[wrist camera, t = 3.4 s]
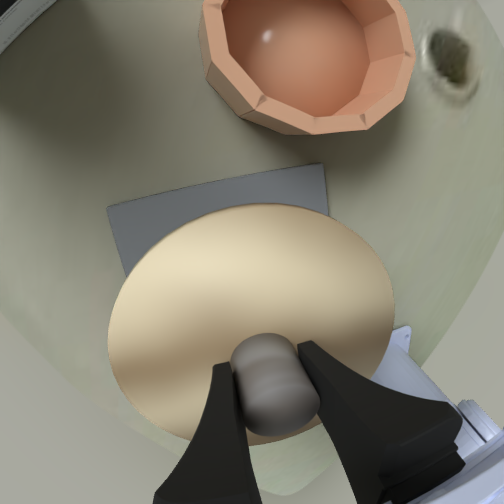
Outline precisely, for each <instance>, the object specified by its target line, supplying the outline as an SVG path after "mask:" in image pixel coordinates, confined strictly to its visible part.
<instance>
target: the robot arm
mask: <svg viewBox="0 0 504 504" xmlns="http://www.w3.org/2000/svg"><path fill="white" fill-rule="evenodd" d="M411 331H412V330H411V327H410V326H408V325H407V326H404V327H401V328H399V329H396V330H394V331H392V334H391V338H390V341H389V345H388V348H387V350H386V352H385V355H384V357H383V359H382V361H381V363H380V365H379V366H378V368H377V370H376V372H375V373H374V375H373V376H372V377H371V379H370V380H369V379H367V378H366V377H364V376H362V375H360V374H358V373H357V372H355V371H353V370H352V369H350V368H349V367H347V366H346V365H344V364H343V363H341V362H340V361H338V360H337V359H335V358H334V357H333V356H331V355H330V354H329V353H327V352H326V351H325V350H324V349H322V348H321V347H320V346H319V345H317V344H316V343H315V342H314V341H312V340H309V341H306V342H302V343H299V344H297V349H298V357H299V359H300V361H301V363H302V365H303V367H304V369H305V370H306V372H307V374H308V376H309V378H310V380H311V382H312V384H313V386H314V388H315V390H316V392H317V394H318V396H319V398H320V407H319V410H318V412H317V415H318V416H319V418H320V420H321V422H322V423H323V425H324V427H325V429H326V430H327V432H328V434H329V436H330V438H331V440H332V442H333V444H334V446H335V448H336V451H337V453H338V455H339V458H340V460H341V462H342V465H343V467H344V470H345V472H346V475H347V477H348V480H349V482H350V485H351V487H352V490H353V493H354V496H355V498H356V501H357V504H504V428H503V430H501V429H500V428H499V427H498V426H497V425H496V424H495V422H494V421H493V420H492V419H491V418H490V417H489V416H488V415H487V414H486V413H485V412H484V411H483V410H482V409H481V408H480V407H479V405H478V404H477V403H476V402H475V401H474V400H467V401H465V400H462V401H461V402H460V403H459V404H458V407H457V406H456V405H455V404H453V403H452V402H451V401H450V400H449V399H448V398H447V397H446V395H445V394H444V393H443V392H442V391H441V390H440V389H439V388H438V387H437V385H436V384H435V383H434V382H433V381H432V380H431V379H430V378H429V377H428V376H427V375H426V374H425V373H424V371H423V370H422V369H421V368H420V367H419V366H418V365H417V364H416V363H415V362H414V361H413V359H412V358H411V357H410V356H409V355H408V351H409V344H410V338H411ZM153 504H262V501H261V497H260V494H259V490H258V487H257V483H256V479H255V476H254V472H253V468H252V464H251V459H250V453H249V446H248V440H247V433H246V426H245V424H244V420H243V416H242V412H241V408H240V404H239V400H238V395H237V390H236V386H235V381H234V377H233V373H232V369H231V366H230V362H229V361H228V362H224V363H219V364H215V365H214V366H213V367H212V379H211V384H210V389H209V393H208V397H207V401H206V404H205V408H204V410H203V413H202V416H201V419H200V422H199V424H198V427H197V429H196V431H195V434H194V436H193V438H192V440H191V442H190V444H189V446H188V448H187V449H186V451H185V453H184V455H183V456H182V458H181V459H180V461H179V462H178V464H177V465H176V467H175V468H174V470H173V471H172V473H171V474H170V475H169V477H168V478H167V479H166V480H165V481H164V483H163V484H162V485H161V486H160V487H159V488H158V489H157V491H156V492H155V494H154V499H153Z"/></svg>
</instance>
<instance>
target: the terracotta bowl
mask: <svg viewBox="0 0 504 504" xmlns="http://www.w3.org/2000/svg"><path fill="white" fill-rule="evenodd" d="M198 36H199V42H200V48H201V54H202V60H203V66H204V72H205V78H206V80H207V81H208V82H209V83H210V85H211V86H212V87H213V88H214V89H215V90H216V91H217V92H218V94H219V95H220V96H221V97H222V98H223V99H224V100H225V102H226V103H227V104H228V105H229V106H230V107H231V109H232V110H233V111H234V112H235V113H236V114H237V116H239V117H241V118H243V119H246V120H249V121H251V122H254V123H257V124H259V125H262V126H264V127H267V128H269V129H272V130H274V131H277V132H279V133H282V134H284V135H315V134H324V133H334V132H344V131H356V130H367V129H369V128H370V127H371V126H372V125H374V124H375V123H376V122H377V121H379V120H380V119H381V118H382V117H384V116H385V115H386V114H387V113H389V112H390V111H391V110H392V109H393V108H395V107H396V106H397V105H398V104H400V103H401V102H402V101H403V100H404V97H405V94H406V90H407V87H408V84H409V81H410V77H411V74H412V70H413V67H414V64H415V60H416V58H415V57H416V54H415V49H414V45H413V40H412V35H411V31H410V27H409V23H408V19H407V15H406V12H405V10H404V8H403V7H402V6H401V4H400V3H399V1H398V0H205V1H204V3H203V5H202V11H201V18H200V25H199V33H198Z"/></svg>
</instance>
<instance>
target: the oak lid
mask: <svg viewBox="0 0 504 504" xmlns="http://www.w3.org/2000/svg"><path fill="white" fill-rule="evenodd" d="M394 308H395V303H394V296H393V289H392V285H391V282H390V279H389V275H388V273H387V271H386V269H385V267H384V265H383V263H382V261H381V259H380V258H379V257H378V255H377V254H376V253H375V251H374V250H373V248H372V247H371V246H370V245H369V244H368V243H367V242H366V241H365V240H364V239H363V238H362V237H360V236H359V235H358V234H357V233H355V232H354V231H352V230H351V229H349V228H348V227H346V226H345V225H343V224H342V223H340V222H338V221H337V220H335V219H333V218H331V217H329V216H327V215H325V214H322V213H320V212H318V211H315V210H311V209H308V208H304V207H301V206H297V205H290V204H282V203H250V204H243V205H236V206H230V207H227V208H223V209H220V210H216V211H213V212H209V213H207V214H204V215H202V216H200V217H197V218H195V219H193V220H191V221H188V222H186V223H185V224H183V225H181V226H180V227H178V228H176V229H175V230H173V231H172V232H170V233H168V234H167V235H165V236H164V237H163V238H162V239H161V240H159V241H158V242H157V243H156V244H155V245H153V246H152V247H151V248H150V249H149V250H148V251H147V252H146V253H145V254H144V255H143V257H142V258H141V259H140V260H139V261H138V262H137V263H136V264H135V266H134V267H133V269H132V270H131V272H130V274H129V275H128V277H127V278H126V280H125V281H124V283H123V286H122V288H121V290H120V292H119V295H118V297H117V299H116V302H115V305H114V308H113V311H112V315H111V319H110V324H109V331H108V351H109V360H110V363H111V367H112V371H113V374H114V376H115V379H116V381H117V383H118V385H119V387H120V389H121V390H122V392H123V393H124V395H125V396H126V398H127V399H128V401H129V402H130V403H131V404H132V405H133V406H134V407H135V408H136V410H137V411H138V412H139V413H141V414H142V415H143V416H144V417H145V418H147V419H148V420H149V421H150V422H152V423H153V424H155V425H157V426H158V427H160V428H161V429H163V430H165V431H167V432H169V433H171V434H173V435H175V436H178V437H181V438H184V439H187V440H190V441H191V440H192V438H193V436H194V434H195V431H196V429H197V427H198V424H199V422H200V419H201V416H202V413H203V410H204V408H205V404H206V401H207V397H208V393H209V389H210V384H211V379H212V367H213V366H214V365H215V364H219V363H224V362H228V361H229V362H230V366H231V369H232V373H233V377H234V381H235V386H236V390H237V395H238V400H239V404H240V408H241V412H242V416H243V420H244V424H245V426H246V433H247V440H248V446H253V445H261V444H266V443H271V442H275V441H279V440H283V439H286V438H289V437H292V436H295V435H297V434H300V433H302V432H304V431H307V430H309V429H311V428H313V427H315V426H316V425H318V424H320V423H322V422H321V420H320V418H319V416H318V415H317V412H318V410H319V407H320V398H319V396H318V394H317V392H316V390H315V388H314V386H313V384H312V382H311V380H310V378H309V376H308V374H307V372H306V370H305V369H304V367H303V365H302V363H301V361H300V359H299V357H298V349H297V344H299V343H302V342H306V341H309V340H312V341H314V342H315V343H316V344H317V345H319V346H320V347H321V348H322V349H324V350H325V351H326V352H327V353H329V354H330V355H331V356H333V357H334V358H335V359H337V360H338V361H340V362H341V363H343V364H344V365H346V366H347V367H349V368H350V369H352V370H353V371H355V372H357V373H358V374H360V375H362V376H364V377H366V378H367V379H369V380H370V379H371V377H372V376H373V375H374V373H375V372H376V370H377V368H378V366H379V365H380V363H381V361H382V359H383V357H384V355H385V352H386V350H387V348H388V345H389V341H390V338H391V334H392V330H393V324H394Z"/></svg>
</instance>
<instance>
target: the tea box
mask: <svg viewBox="0 0 504 504" xmlns="http://www.w3.org/2000/svg"><path fill="white" fill-rule="evenodd" d="M56 1H57V0H0V54H1V53H2V52H3V51H4V50H5V49H6V48H7V47H8V46H9V44H10V43H11V42H12V41H13V40H14V39H15V38H16V37H17V36H18V35H19V34H20V33H21V32H22V31H23V30H24V29H25V28H26V27H27V26H29V25H30V24H31V23H32V22H33V21H34V20H35V19H36V18H37V17H38V16H39V15H40V14H42V13H43V12H44V11H45V10H46V9H47V8H49V7H50V6H51V5H52V4H53V3H55V2H56Z"/></svg>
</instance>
